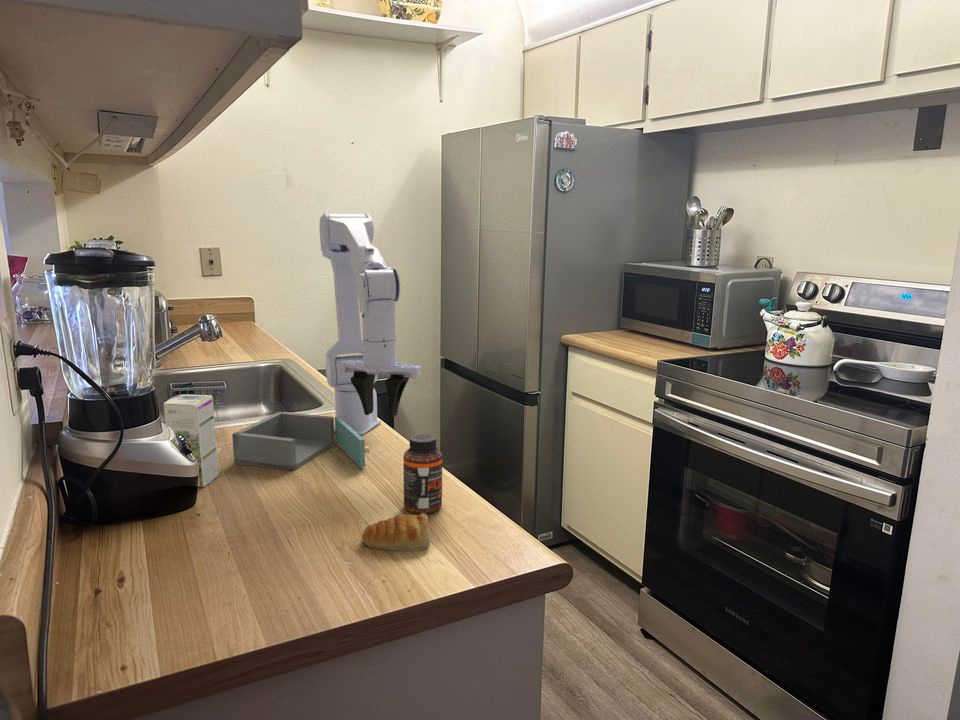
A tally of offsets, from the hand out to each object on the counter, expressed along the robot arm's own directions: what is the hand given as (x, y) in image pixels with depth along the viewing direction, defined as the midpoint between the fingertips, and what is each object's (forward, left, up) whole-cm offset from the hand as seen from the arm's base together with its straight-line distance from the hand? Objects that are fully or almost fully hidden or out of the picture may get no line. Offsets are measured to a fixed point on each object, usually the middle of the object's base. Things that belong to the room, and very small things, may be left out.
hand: (380, 414), depth 120 cm
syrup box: (+17, -27, -10) cm, 33 cm away
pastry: (+26, +15, -10) cm, 31 cm away
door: (-3, -7, -9) cm, 12 cm away
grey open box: (0, -20, -9) cm, 22 cm away
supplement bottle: (+15, +13, -10) cm, 22 cm away
